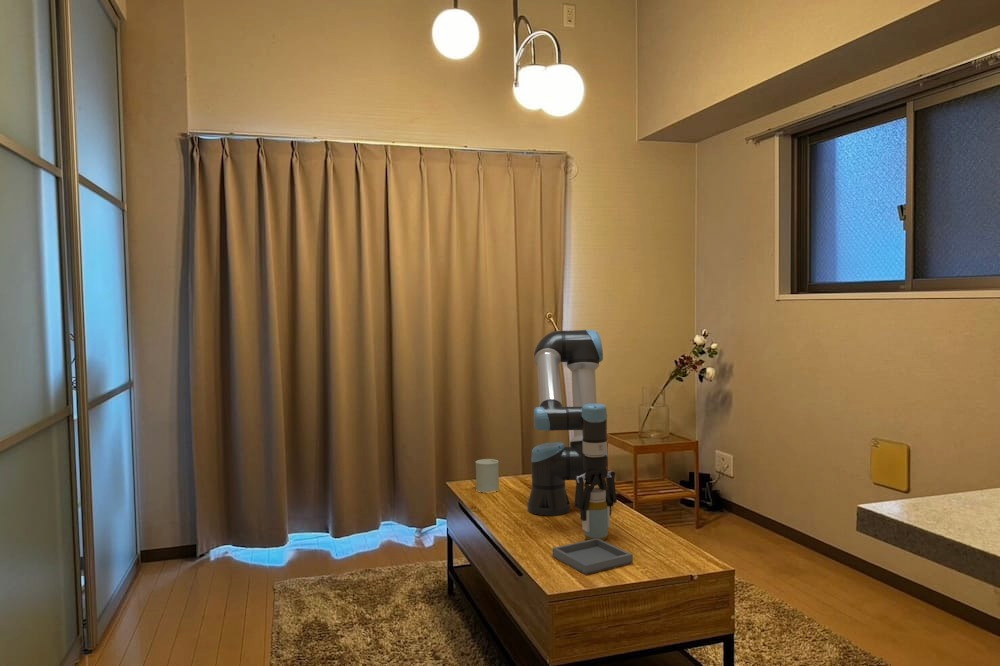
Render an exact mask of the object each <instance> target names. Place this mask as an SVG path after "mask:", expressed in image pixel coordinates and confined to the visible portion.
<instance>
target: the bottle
mask: <svg viewBox="0 0 1000 666" xmlns="http://www.w3.org/2000/svg"><path fill="white" fill-rule="evenodd" d="M587 510H589V521H590V532H586V531H584V537H585V538H586V540H591V539H596V538H598V539H601V540H603V541H606V540H607V539H608V536H609V535H608V534H609V533H608V532H609V531H608V529H609V528H608V521H607V503H606V491H605V490H602V489H599V487H594V489H593V490H592V492H591V497H590V500H589V504H588V508H587Z"/></svg>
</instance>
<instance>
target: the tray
mask: <svg viewBox="0 0 1000 666" xmlns="http://www.w3.org/2000/svg"><path fill="white" fill-rule="evenodd" d="M552 558H554V559H556V560H558V561H559V562H562V563H563V564H565V565H567V566H568V567H571V568H573V570H576V571H578V572H580V573H581V574H583V575H585V576H587V575H592V574H596V573H598V572H603V571H607V570H610V569H611V570H612V569H615V567H616V568H619V567H623V565H624V566H627V564H628V565H631V564H630V563H632V564H634V563H633V558H634V557H633V553H631V552H628V551H626V550H625V549H622V548H619V547H618V546H615V545H613V544H611V543H609V542H606V540H604V541H603V540H601V539H598V538H596V539H591V540H587V539H586V540H584V541H583V540H581V541H578V542H574V543H569V544H563V545H560V546H556V547H552Z"/></svg>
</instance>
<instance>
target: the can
mask: <svg viewBox="0 0 1000 666" xmlns="http://www.w3.org/2000/svg"><path fill="white" fill-rule="evenodd" d="M499 475H500V473H499V460H498V459H493V458H484V459H482V458H481V459H478V460H476V461H475V479H476V480H475V491H476V490H477V491H480V492H491V491H496V490H498V489H499V490H500V485H499V483H500V482H499V478H500V477H499ZM477 491H476V492H477Z"/></svg>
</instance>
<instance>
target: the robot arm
mask: <svg viewBox="0 0 1000 666" xmlns="http://www.w3.org/2000/svg"><path fill="white" fill-rule="evenodd" d="M603 360H604V353H603V345H602V339H601V337H600V334H599V332H598V331H596V330H594V329H593V330H592V329H590V330H587V329H577V330H575V329H574V330H555V331H552V332H549V333H546V334H545V336H543V337H542V338H541V339H540V340H539V342H538V343H537V344H536V347H535V349H534V353H533V362H534V364H535V366H536V368H537V384H538V385H537V388H538V389H537V390H538V406H537V407H534V409H533V422H534V423H533V426H534V429H535V430H536V431H545V432H549V431H573V438H572V439H571V440H570V441H569V446H566V445H565V443H564V442H561V441H557V442H556V441H553V442H544V443H541V444H538V445H536V446H534V447H533V448H532V450H531V459H530V462H531V490H530V494H529V496H528V497H529V498H528V501H527V508H526V509H527V512H529V511H530V512H532V513H531V514H533V513H534V515H536V514H539V515H538V516H543V515H546V516H547V517H549V516H550V517H552V516H553V517H554V516H555V517H556V516H560V515H564V514H567V513H569V512H570V511H571V502H570V499H569V496H568V493H567V490H566V481H575V494H574V495H575V496H574V508H576V509H578V510H579V511H580V513H579V515H580V518H579V519H580V520H581V521H582V523H581V524H582V529H581V530H582V531H583V532H585V531H586V532H590V521H589V510H587V508H588V504H589V500H590V497H591V492H592V490H593V489H594V488H595V487H596V486H598V488H599V489H602V490H605V491H606V503H607V521H608V529H609V528H610V527H611V525H610V524H611V523H610V522H611V521H610V520H611V519H610V517H611V516H612V507H613V506H614V505H615V503H617V501H618V500H617V492H616V491H617V490H616V482H615V477H616V476H615V475H616V471H613V470H610V469H609V470H608V469H607V468H608V464H609V463H608V458H609V455H608V453H609V452H608V433H607V432H608V428H607V427H608V422H607V421H608V411H607V406H606V405H605V404H602V403H597V383H596V382H597V381H596V370H597V369H598V368H599V367H600V363H601V362H602V361H603ZM560 363H566V364H567V366H566V367H567V368H568V369H569V370H570V371H571V390H572V393H571V394H572V406H563V401H562V400H563V399H562V389H561V379H560V377H561V376H560V369H559V368H560V367H559V365H560ZM530 512H529V513H530ZM546 516H545V517H546Z"/></svg>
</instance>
